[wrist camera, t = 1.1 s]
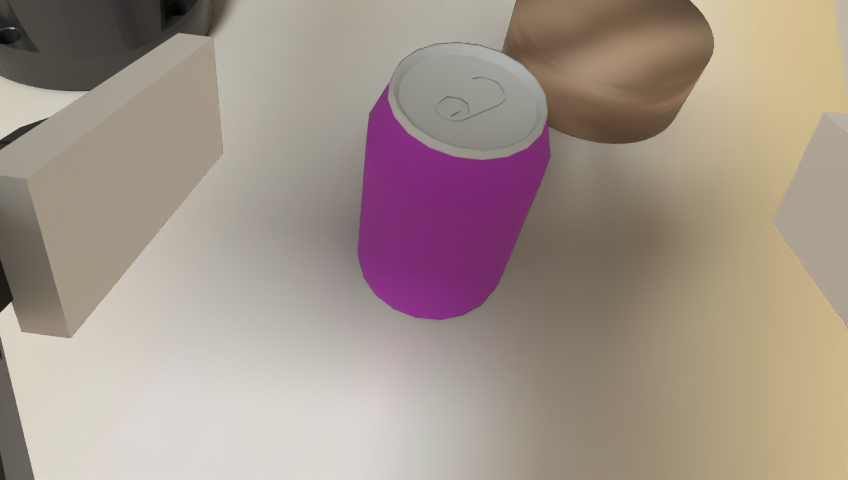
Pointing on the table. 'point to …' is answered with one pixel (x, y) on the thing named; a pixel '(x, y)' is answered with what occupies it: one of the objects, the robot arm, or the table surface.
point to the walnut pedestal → (611, 62)
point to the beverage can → (449, 177)
